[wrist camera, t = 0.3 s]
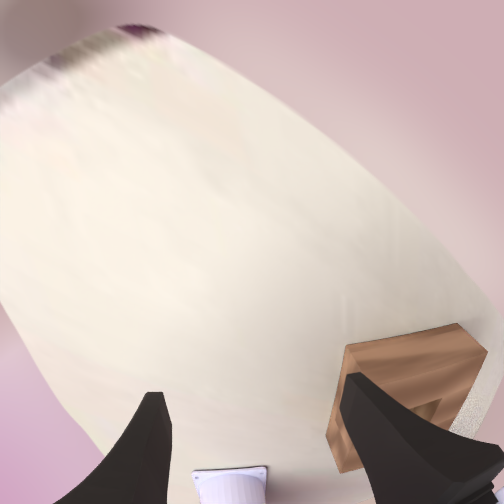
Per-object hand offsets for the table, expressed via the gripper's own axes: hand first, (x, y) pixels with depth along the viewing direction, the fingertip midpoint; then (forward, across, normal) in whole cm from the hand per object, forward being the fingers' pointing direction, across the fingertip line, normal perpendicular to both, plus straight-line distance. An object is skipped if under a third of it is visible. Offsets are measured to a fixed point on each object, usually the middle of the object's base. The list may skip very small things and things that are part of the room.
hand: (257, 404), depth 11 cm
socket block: (+10, -14, +12) cm, 21 cm away
